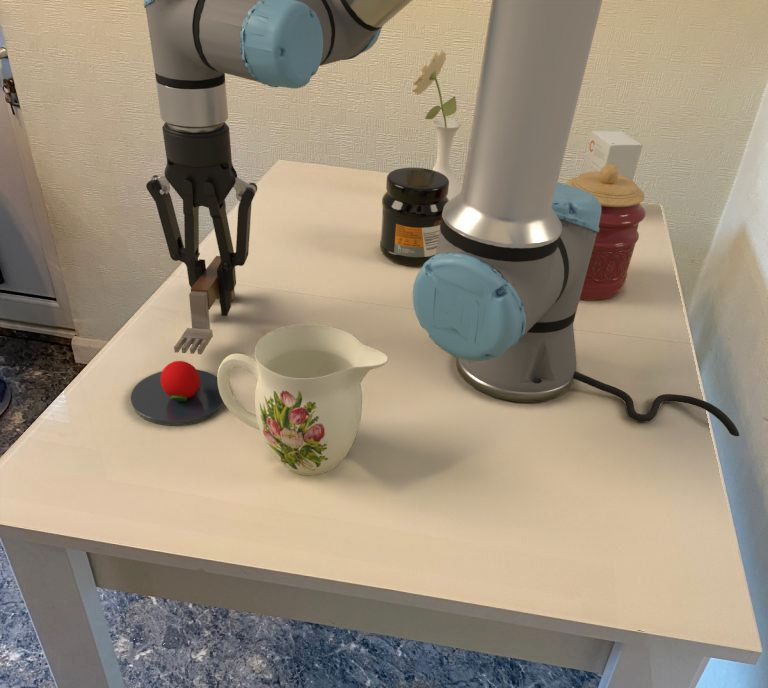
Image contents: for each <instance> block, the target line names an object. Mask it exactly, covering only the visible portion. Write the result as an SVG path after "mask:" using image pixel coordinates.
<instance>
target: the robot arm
mask: <svg viewBox="0 0 768 688" xmlns="http://www.w3.org/2000/svg"><path fill="white" fill-rule="evenodd" d="M412 1H413V0H144V1H143V7H144V9H145V13H146V19H147V26H148V33H149V39H150V48H151V53H152V61H153V67H154V74H155V75H154V76H155V83H156V92H157V100H158V106H159V114H160V119H161V120H162V121H163V122H164V124H163V125H162V129H161V130H162V137H163V143H164V151H165V158H166V166H165V168H164V173H161V174H160V175H158V174H154V175H153V176H152V177H151V178H150V179H149V180H148V181H147V183H146V185H145V188H146V190H147V192H148V193H149V195H150V196H151V198H152V199H153V201H154V202H155V207H156V209H157V213H158V217H159V220H160V225H161V227H162V231H163V235H164V238H165V242H166V245H167V249H168V252H169V257H170V258H171V260H172V261H174V262H182V263H183V264H184V265H185V266H186V272H187V279H188V285H189V287H190V289H191V288H192V286H193V285H194V284H195V283H196V281H197V280H198V279H199V277H200V276H201V275H202V274H203V272H204V271H205V270H206V268H207V263H206V259H202V258H201V259H200V258H199V257H200V255H201V252H200V226H199V225H200V224H199V223H200V214H199V211H200V210H199V209H200V207H204V208H207V209H208V212H209V215H210V217H211V220H212V224H213V225H212V226H213V229H214V234H215V240H216V243H217V248H218V253H219V256H220V258H221V262H220V264H219V266H218V268H217V277H218V285H219V297H220V299H219V304H220V314H221V317H228V315H229V314H230V310H231V308H232V300H230V291H233V290H235V288H236V285H237V276H236V267H238V266H239V267H242V266H245V264H246V262H247V259H248V257H249V251H250V237H251V236H250V235H251V220H252V219H251V217H252V205H253V204H252V202H253V200H254V198H255V196H256V194H257V191H258V185H257V183H255V182H249V183H248V182H246V181H244V180H243V179H241V178H240V177H238V173H237V171H236V169H235V167H234V164H233V160H232V150H231V149H232V147H231V146H232V145H231V134H230V127H229V125H228V124H227V123H226V122H227V120H228V119H229V109H228V98H227V95H228V94H227V86H226V85H227V84H226V83H227V82H226V75H231V76H235V77H237V78H241V79H246V80H249V81H252V82H257V83H260V84H262V85H264V86H265V85H266V86H268V87H270V88H279V87H280V88H287V89H293V90H295V89H300V88H303V87H305V86H306V85H308V84H309V83H310V81H311V78H312V77H313V76H315V75H316V74H317V73H318V70H319V68H320V67H321V66H324V65H330V64H332V63H336V62H339V61H340V62H341V61H347V60H352V59H354V58H356V57H358V56H360V55H361V54H363V53H365V52H367V51H369V50H370V49H371V48H372V47H374V45H375V44H376V43H377V41H378V39H379V37H380V34H381V31H382V29H383V26H385V25H386V24H387V23H388V22H389V21H390V20H392V19H393V18H394V17H395V16H396V15H397V14H398V13H400V12H401V11H402V10H403V9H404V8H405V7H407V6H408V5H409V4H410V3H411V2H412ZM602 5H603V0H491V6H490V12H489V17H488V24H487V30H486V36H485V42H484V49H483V56H482V61H481V66H480V67H481V68H480V74H479V79H478V86H477V92H476V98H475V104H474V111H473V117H472V123H471V130H470V135H469V142H468V147H467V148H468V149H467V154H466V160H465V165H464V172H463V173H464V174H463V179H462V183H463V184H462V191H461V192H460V194H458V195H457V196H455V197H454V198H452V199H451V200H450V201H448V202H447V203H446V204H445V206H444V208H443V212H442V217H441V224H440V230H439V237H438V244H437V251H436V254H435V256H433V257H431V258H430V259H429V260H428V261H426V262H425V263H424V265H423V266H421V268H420V270H419V271H418V272H417V274H416V276H415V279H414V282H413V284H412V285H413V286H412V304H413V310H414V313H415V316H416V318H417V320H418V323H419V325H420V326H421V327H422V328H423V329H424V330H425V331H426V332H427V333H428V337H429V338H430V340H431V341H432V342H433V343H434V344H435V345H436V346H438V347H439V349H441V350H443V351H444V352H446V353H447V354H449V355H451V356H453V357H456V369H457V371H458V373H459V375H460V377H462V379H463V380H464V381H465V382H466V383H467V384H468V385H469V386H471V387H473V388H474V389H476V390H477V391H479V392H481V393H483V394H486V395H488V396H491V397H494V398H497V399H500V400H504V401H509V402H518V403H537V402H538V403H539V402H544V401H549V400H553V399H555V398H559V397H560V396H563V395H564V394H565V393H566V392H568V391H569V390H570V388H571V387H572V386H573V383H574V380H576V381H578V382H581V383H583V384H586V385H588V386H591V387H593V388H595V389H597V390H601V392H605V393H608V394H611V395H614V396H615V397H617V398H619V399H620V400H622V401H623V403H624V404H625V407H626V413H627V415H628V417H629V418H630V419H631V420H633V421H636V422H640V423H647V422H651V421H652V420H654V419H655V418H656V416H657V415H658V413H659V410H660V407H661V404H663V403H665V402H672V403H682V404H687V405H692V406H695V407H698V408H700V409H703V410H705V411H707V412H708V413H710V414H711V415H712V416H714V417H715V419H717V420H718V421H719V422H721V424H722V425H723V426H724V427H725V428H726V429H727V431H728V433H729V434H730V435H731V436H734V437H740V432H739V429H738V428H737V426H736V425H735V423H734V422H733V421H732V419H731V418H730V417H729V416H728V415H727V414H726V413H725V412H723V410H722V409H720V408H718V406H716V405H714V404H712V403H710V402H708V401H705V400H704V399H701V398H698V397H694V396H689V395H685V394H676V393H675V394H674V393H663V394H659V395H658V396H657V397H655V399H654V400H653V402H652V403H651V406H650V408H649V411H648V412H647V413H645V414H644V413H639V412H637V411H636V409H635V403H634V400H633V398H632V396H630V394H628V392H626V391H624V390H623V389H620V388H619V387H616V386H614V385H611V384H608V383H606V382H603V381H600V380H597V379H595V378H592V377H590V376H589V375H586V374H584V373H580V372H579V371H577V363H578V362H577V361H578V360H577V349H576V339H575V338H576V337H575V330H574V329H575V328H574V322H575V319H576V315H577V310H578V307H579V303H580V300H581V299H580V296H581V292H582V288H583V284H584V281H585V277H586V273H587V269H588V265H589V262H590V258H591V254H592V250H593V246H594V243H595V239H596V235H597V233H598V232H599V222H600V217H601V204H600V202H599V200H598V199H597V198H596V197H595V196H593V195H592V194H590V193H588V192H586V191H584V190H582V189H579V188H576V187H573V186H570V185H566V183H562V182H559V177H560V174H561V169H562V165H563V161H564V157H565V154H566V149H567V145H568V142H569V137H570V133H571V129H572V124H573V121H574V117H575V113H576V108H577V105H578V101H579V96H580V92H581V88H582V85H583V80H584V77H585V72H586V69H587V64H588V61H589V56H590V53H591V50H592V49H591V48H592V44H593V40H594V36H595V32H596V29H597V24H598V21H599V20H598V19H599V15H600V12H601V8H602ZM171 187H172V188H173V190H175V192H176V193H177V195H178V196H179V198H181V199H182V213H183V219H184V220H183V221H184V223H183V224H184V228H183V229H184V241H183V238H182V233H181V230H180V227H179V222H178V219H177V215H176V211H175V207H174V203H173V200H172V196H171V193H170V191H171ZM232 189H234V190H235V198H236V200H238V201H239V203H238V208H237V220H236V221H237V224H236V241H235V242H236V243H235V250H234V245H233V239H232V236H231V230H230V224H229V219H228V215H227V205H226V198H227V197H228V195H229V194H230V192H232ZM183 242H184V243H183Z"/></svg>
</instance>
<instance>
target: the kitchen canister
mask: <svg viewBox="0 0 768 688" xmlns="http://www.w3.org/2000/svg"><path fill="white" fill-rule="evenodd" d="M618 174H619V172H618V168H617V167H616V166H615V165H613V164H607V165H605V166H603V168H602V169H601V171H600V172H586V173H582V172H581V173H580V174H579V175H577V176H575V177H573V178H571V179H569V180H568V181H566V182H565V184H566V185H570V186H573V187H576V188H579V189H582V190H584V191H586V192H588V193H590V194H592V195H593V196H595V197H596V198H597V199H598V200H599V202H600V204H601V217H600V222H599V232H598V233H597V235H596V239H595V243H594V246H593V250H592V254H591V258H590V262H589V265H588V269H587V273H586V277H585V281H584V284H583V288H582V292H581V296H580V300H586V301H587V300H588V301H598V300H599V301H602V300H607V299H611V298H613V297H616V296H617V295H619V294H620V293H621V291H622V289H623V287H624V285H625V284H626V281H627V278H628V270H629V267H630V265H631V261H632V256H633V253H634V250H635V247H636V243H637V242H638V240H639V239H640V233H639V231H638V229H639V225H640V223H641V222H642V221H644V219H645V218H646V210H645V207H643V205H642V204H641V203H642V202H643V201H644V200H645V193H644V191H643V190H642V189H641V188H640V187H639V186H638V185H637V183H636V182H635V181H634V180H633V181H632V180H631V179H629V178H627V177H624V176H621V175H618Z"/></svg>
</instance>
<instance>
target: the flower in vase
mask: <svg viewBox="0 0 768 688" xmlns="http://www.w3.org/2000/svg"><path fill="white" fill-rule="evenodd" d="M446 59H447V53H446V52H445V51H444V50H443V49H441V50H440V51H439V53H438V52H437V51H435V52H434V54H433V56H432V57H431V59H430V60H429V64H428V65H427V64H426V65H424V66H423V67H422V68H421V73H422V74H420V75H419V76H418V77H417V79H416V80H415V81H414V82H413V86H415V87H414V88H413V90H412V93H414V94H416V95H421V94H423V92H425V91H426V90H427V89H428V88H429V87H431V85H432V84H433V83H434V82H435V84H436V89H437V92H438V97H439V101H440V105H435V106H433V107H432V108H430V110H429V111H428V112H427V114H426V115H425V120H432V121H431V124H432V126H433V127H434V130H435V131H436V132H435V133H436V140H437V151H436V152H437V153H436V154H437V155H436V160H435V163H434V165H433V168H431V170H434V171H437V172H439V173H442V174H443V175H445V176H446V177H447V178H448V180H449V189H448V195H447V198H448V200H449V201H450V200H451V199H452V198H454V197H455V196H457V195H458V194H460V192H461V191H462V184H463V181H461V180H460V179H459V177H457V176H456V175H455V173H454V172H453V171H452V170H451V166H450V156H451V150H452V149H451V148H452V144H453V141H454V137H455V135H456V133H457V132H458V130H459V129H460V128H461V126H462V123H461V122H460V121H458V120H455V119H450V118H447V117H449V116H452V115H453V114H455V113H457V109H458V108H457V100H456V99H457V98H456V96H455V95H453V97H451V98H450V99H448V100H447V101H446V102H444V103H443V97H442V93H441V88H440V84H439V80H438V78H437V77H438V75H439V74H440V72H441V71H442V69H443V67H444V65H445V61H446ZM440 111H441V113H442V118H438V119H435V118H436V117H437V115H439V113H440ZM433 119H434V120H433Z"/></svg>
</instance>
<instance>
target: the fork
mask: <svg viewBox="0 0 768 688" xmlns="http://www.w3.org/2000/svg"><path fill="white" fill-rule="evenodd" d="M220 262H221V258H220V255H215V257H214V258H213V259H212V260H211V262H210V263H209V264H208V266H206V270H205V271H204V272H203V274H202V275H201V276H200V277H199V279H198V280H197V281H196V283H195V284H194V285H193V286H192V288H191V287H190V292H189V294H188V300H189V310H190V320H191V327H186V329H185V330H184V331H183V333H182V334H181V336H180V338H179V339H178V341H177V342H176V344H175V345H174V346H173V349H174V353H179V352H180V351H181V353H182V354H186V353H187V352H188V350H189V353H190V354H191V355H195V353H196V352H197V355H202V354H203V352H204V351H205V350H206V348H207V346H208V345H209V343H210V342H211V340H212V339H213V336H214V335H213V334H214V332H213V329H211V323H210V311H209V310H210V309H211V308H212V307H213V305H214V303H215V302H216V300H220V297H219V285H218V277H217V268H218V266H219V264H220ZM235 291H236V290H235V289H234V290H233V291H230V300H231V301H233V300H234V298H235V296H236V292H235Z"/></svg>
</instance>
